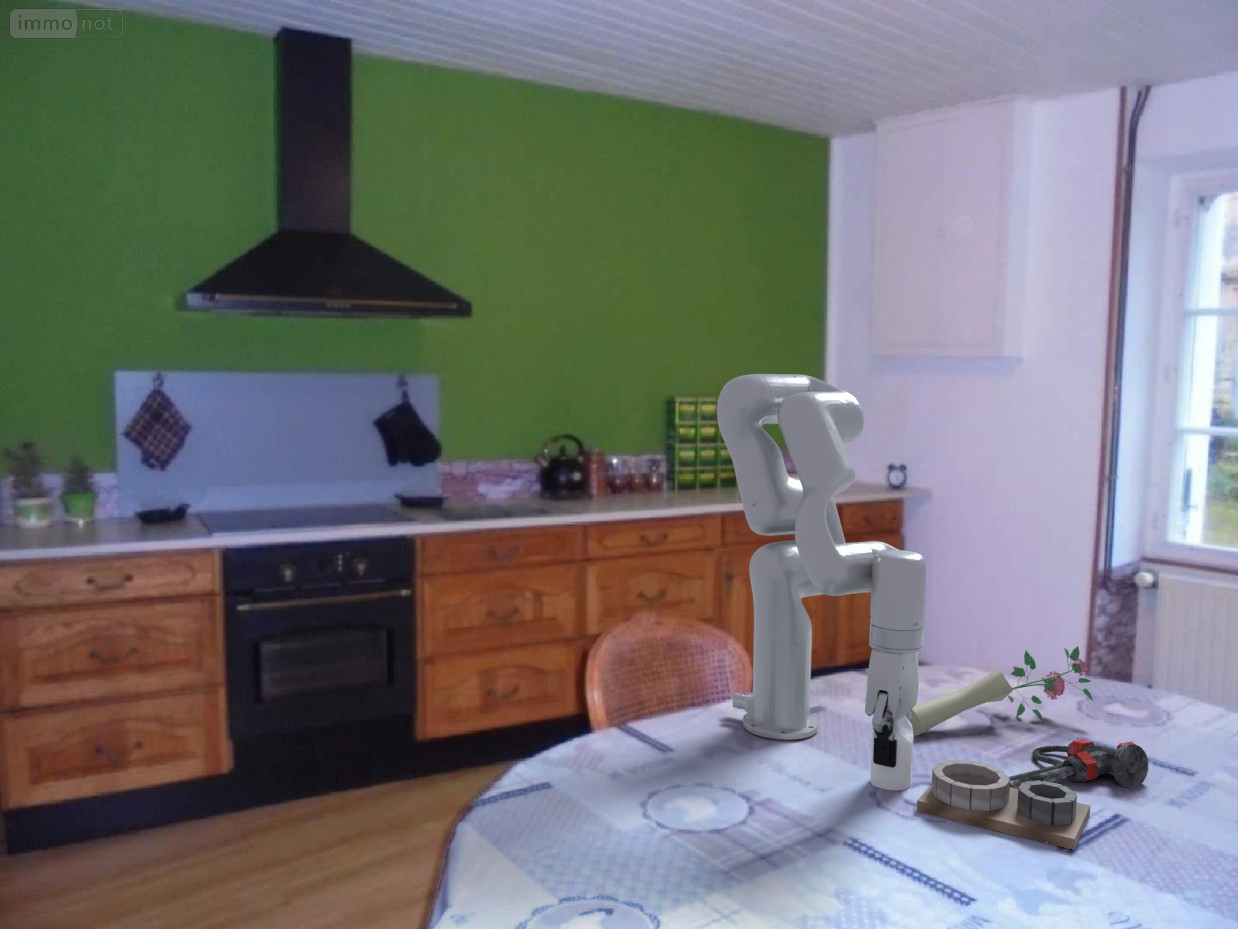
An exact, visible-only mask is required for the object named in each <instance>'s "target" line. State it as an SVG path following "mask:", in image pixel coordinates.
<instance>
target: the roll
mask: <svg viewBox="0 0 1238 929" xmlns="http://www.w3.org/2000/svg"><path fill="white" fill-rule="evenodd" d="M885 717H889V718H891V717H892V714H890V713H886V714H885ZM884 722H885V725H887V726H888V728H889V730H890V724H891V722H887V721H884ZM871 728H872V732H871V750H870V751H871V752H870V755H871V756H870V778H869V779H870V785H872V786H873V787H875V788H876V789H877V788H878V789H881V790H886V791H897V792H900V790H901V791H904V790H907V789H909V788H911V784H912V782H911V781H912V762H913V749H914V734H913V728H912V725H911V723H910V721H909V720H908V719H907V717H906V715H904V716H903V717H902V718H901V719H899V720H897V725H896V732H895V738H894V739H895V740H897V754H896V766H895V767H894V768H891V767H887V766H883V765H878V764H875V763H874V762H873V750H874V736H873V734H874V729H873V726H872V727H871Z"/></svg>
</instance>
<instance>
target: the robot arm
mask: <svg viewBox="0 0 1238 929" xmlns="http://www.w3.org/2000/svg"><path fill="white" fill-rule="evenodd" d="M716 408H717V410H716V415H717V416H716V417H717V424H718V427H719V431H720V435H721V437H722V439H723V441H724V444H725V447H726V449H727V451H728V453H729V456H730V458H731V461H732V466H733V468H734V469H733V470H734V473H735V477H736V478H735V479H736V482H737V486H738V491H739V494H740V499H741V503H742V507H743V512H744V515H745V519H746V522H747V524H748V526H749V528H750V530H751V531H752V532H753V533H755V534H757V535H760V536H781V535H782V536H783V535H792V534H793V535H794V539H793V540H792V539H791V540H790V539H789V540H782V541H781V540H780V541H774V542H770V543H767V544H764V545H763V546H761V547H759V548H758V549H757V550H756V551H754V553H753V554H752V556H751V559H750V562H749V567H748V568H749V570H748V572H749V581H750V584H751V591H752V599H753V613H754V614H753V616H754V618H753V622H754V623H753V624H754V625H753V626H754V627H753V665H752V666H753V667H752V671H753V673H752V694H751V695H746V694H743V693H739V692H734V694H732V695H733V696H732V707H733V708H734V709H738V710H744V711H745V712H746V714H745V715H743V717H742V726H743V728H744V729H745V730H746V731H747V732H749V733H751V734H753V735H754V736H758V737H762V738H766V739H771V740H780V741H781V740H784V741H789V740H790V741H792V740H800V739H802V740H803V739H807V738H810V737H812V736H814V735H815V734H817V732H818V731H819V721H818V719H817V718H815V717H814V716H813V715H810V708H811V707H810V704H811V702H810V701H811V677H812V676H811V675H812V673H811V670H812V645H813V644H812V636H813V635H812V634H813V632H812V631H813V630H812V629H813V626H812V621H811V618H810V615H809V614H808V612H807V610H806V608H805V606H804V605H803V602H802V601H803V600H802V598H807V597H815V596H822V595H826V596H831V597H835V596H836V597H837V596H845V595H852V594H860V593H863V594H864V593H871V594H870V619H869V620H870V622H869V640H868V641H869V643H868V644H869V646H870V648H872V649H871V653H870V658H869V662H868V663H869V664H868V673H867V680H866V681H867V682H866V691H865V693H866V694H865V707H864V708H865V709H864V710H865V711H864V713H865V715H867V717H872V719H871V725H872V727H873V729H874V734H873V736H874V750H873V762H874V763H875V764H878V765H883V766H887V767H891V768H894V767H895V766H896V754H897V740H895V739H894V738H895V732H896V725H897V720H899V719H901V718H902V717H903V716H904V715H906V717H907V719H908V720H909V721H910V723H912V716H911V711H912V708H913V707H914V706H915V704H917V701H918V696H919V695H918V693H919V653H920V652H922V651H923V650H924V639H925V638H924V636H925V635H924V634H925V609H926V587H927V585H926V584H927V582H926V581H927V560H926V559H925V557H924V556H923V555H922V554H920V553H918V552H915V551H911V550H902V549H901V550H900V549H898V548H896V547H894V546H892V545H890V544H889V543H886V542H883V541H878V540H869V541H859V542H846V538H845V535H844V531H843V528H842V524H841V520H840V516H839V513H838V512H839V511H838V508H837V505H836V502H835V499H834V497H836V496H838V495H840V494H841V493H843V492H844V491H845V490H847V489H848V488H849V487H851V485H852V484H853V483H854V482H855V479H856V469H855V467H854V465H853V462H852V460H851V458H850V455H849V453H848V451H847V448H846V445H845V443H851V442H854V441H855V440H856V439H858V438H859V436H860V435H861V433H862V432H863V429H864V424H865V415H864V411H863V409H862V407H861V404H860V402H859V401H858V399H856V397H855V396H853V395H852V394H851V393H850V392H847V390H844V389H842V388H840V387H837V386H835V385H832V384H829V383H828V382H825V381H823V380H821V379H819V378H816V377H813V376H810V375H807V374H797V373H796V374H794V373H793V374H792V373H790V374H789V373H787V374H784V373H783V374H781V373H778V374H777V373H754V374H744V375H743V374H742V375H739V376H736V377H734V378H732V379H730V380H729V381H727V382H726V383H725V384H724V386H723V387H722V389H721V391H720V393H719V396H718V400H717V407H716ZM777 424H778V426H779V430H780V432H781V435H782V437H783V438H782V439H783V440H784V443H785V446H786V448H787V450H788V454H789V457H790V459H791V460H792V461H791V462H792V463H793V466H794V470H795V472H796V475H797V477H791V476H790V475H789V473H788V471H787V468H786V465H785V461H784V456H783V453H782V451H781V448H780V447H779V445H778V443H776V441H775V440H774V438H773V437H772V436H771V435H770V434H769V433H768V432H767V431H766V430H765V429H764V428H763V425H777ZM886 713H890V714H892V717H891V718H889V717H885V714H886ZM884 721H887V722H891V724H890V730H889V728H888V726H887V725H885V722H884Z"/></svg>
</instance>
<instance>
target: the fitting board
mask: <svg viewBox="0 0 1238 929" xmlns="http://www.w3.org/2000/svg"><path fill="white" fill-rule="evenodd" d="M931 772H932V774H931V784H930V785H929V787H928V788H927V789H926V790H925V791H923V793H922V794H921V796H919V798H918V799H917V800H916V801H917V802H916V812H919V813H924V814H928V815H932V816H934V817H940V818H943V819H947V820H950V821H951V820H952V821H955V822H959V823H964V824H966V825H967V824H968V825H971V826H975V827H979V828H983V829H987V830H992V831H994V832H995V831H996V832H1000V833H1003V834H1007V835H1010V836H1011V835H1012V836H1014V835H1015V837H1018V836H1019V838H1023V839H1026V838H1027V840H1030V839H1032V840H1031V841H1034V840H1036V841H1035V842H1038V841H1039V843H1042V842H1047V843H1048V844H1047V845H1050V844H1053V845H1052V846H1054V845H1058V846H1061V847H1060V848H1062V847H1064V848H1063V849H1066V848H1067V850H1070V849H1072V850H1071V851H1075V849H1076V847H1077V844H1078V843H1077V842H1079V841H1080V838H1081V836H1082V834H1083V831H1084V829H1085V827H1086V825H1087V823H1088V820H1089V818H1090V814H1091V805H1089V804H1085V803H1081V802H1077V799H1078V794H1077V792H1075V791H1073V790H1072V789H1070V788H1069V787H1067V786H1066V785H1063V784H1059V783H1056V782H1052V781H1051V782H1050V781H1043V782H1042V781H1040V780H1039V781H1026V782H1024V783H1023V782H1022V783H1021V785H1020V787H1019V788H1018V789H1016V788H1011V787H1010V778H1009V777H1010V776H1008V774H1007V773H1006V772H1005V771H1004V770H1002V769H1000V768H997V767H996V766H993V765H990V764H987V763H982V762H978V761H974V760H963V759H962V760H959V759H957V760H956V759H952V760H945V761H941V762H938V763H936V765H934V766H933V768H932V771H931ZM1058 846H1057V847H1058Z"/></svg>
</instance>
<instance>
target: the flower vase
mask: <svg viewBox="0 0 1238 929" xmlns="http://www.w3.org/2000/svg"><path fill="white" fill-rule="evenodd" d="M1063 650H1064V652H1065V655H1066V658H1067V660H1066V662H1067V666H1068V668H1067V671H1066V672H1063V673H1059V672H1056V671H1055V670H1054V671H1052V670H1051V671H1050V672H1049V674H1047V675H1046V678H1044V677H1041V679H1039V680H1035V681H1031V682H1028V679H1029V677H1030V673H1031V672H1032V671H1034V670H1035V669H1037V667H1036V666H1037V664H1036V662H1035V659H1034V657H1033V656H1031V654H1030V653H1029V652H1028V650H1027V649H1025V652H1024V655H1023V656H1024V659H1023V660H1024V662H1023V663H1024V665H1025V666H1026V668H1024V667H1019V666H1018V667H1017V666H1012V668H1013V671H1012V672H1010V675H1011V676H1014V677H1017V678H1018V677H1019V679H1018V681H1017V684H1019V682H1020V680H1021V679H1022V677H1026V682H1025V683H1024V684H1020V685H1017V686H1012V685H1010V683H1009V681H1008V680H1007V679H1006V677H1005V676H1004V674H1003V673H1002V672H1001V670H1000V668H999V667H997V668H995V669H994V670H993V671H992V672H990V673H989V674H987V675H986V676H985V677H982V678H980V679H979V680H977V681H975V682H973V683H970V684H969V685H967V686H965V687H962V688H960V689H958V690H956V691H953V692H951V693H947V694H945V695H941V696H939V697H938V696H937V697H935V698H934V697H933V698H931V699H928V700H925V701H922V702H918V703H916V704H915V706H914V707H913V708H912V711H911V716H912V723H911V725H912V728H913V736H916V737H917V736H919V735H921V734H924V733H925V732H927V731H928V730H931V729H932V728H934V727H936V726H938V725H940V724H942V723H943V722H947V721H948V720H949V719H952V718H954V717H955V716H957V715H959V714H961V713H963V712H965V711H967V710H970V709H972V708H975V707H978V706H980V705H984V704H986V703H996V702H1002V701H1003V700H1005V698H1006V697H1008V699H1009V702H1011V704H1012V703H1013V702H1014V697H1012V695H1010V694H1011V693H1012V692H1013V691H1014V690H1015V692H1017V693H1018V694H1019V695H1020V696H1022V694H1021V693H1020V692H1019V691H1018V689H1022V688H1028V687H1034V686H1043V688H1044V690H1043V691H1042V692H1043V693H1045V694H1046V695H1047V698H1050V700H1058V697H1061V696H1062V695H1064V693H1065V692H1064V691H1065V689H1066V688H1065V687H1066V686H1065V681H1066V682H1067V683H1069V684H1070V685H1072V686H1073V687H1075V688H1077V689H1079V690H1081V691H1082V692H1083V694H1084V695H1085V696H1087V698H1088V699H1089V700H1091V701H1092V702H1094V699H1093V696H1092V693H1091V692H1090V691H1089V690H1088V688H1086V687H1085V688H1084V689H1081V688H1079V687H1078V686H1076V685H1074V684H1072V682H1070V681H1068V680H1067V679H1064V678H1063V677H1062V676H1063V675H1066V674H1069V673H1071V672H1073V671H1074V672H1073V674H1074V675H1075V674H1077V675H1078V674H1079V675H1078V676H1080V677H1081V676H1084V673H1085V674H1087V673H1088V668H1087V666H1088V665H1087V663H1086V661H1083V659H1080V658H1079V657H1080V652H1081V651H1080V648H1079V645H1077V646H1076V647H1074V649H1072V651H1071V653H1070V652H1069V650H1068V649H1067V648H1065V647H1064V648H1063ZM1069 659H1070V660H1071V661H1070V663H1069V662H1068V661H1069ZM1028 666H1029V668H1030V670H1029V674H1026V672H1028V668H1027V667H1028ZM1070 666H1071V668H1072V669H1070ZM1080 677H1079V679H1078V681H1076V682H1075V684H1077V683H1080V684H1083V683H1091V682H1092V681H1091V679H1088V678H1086V677H1085V678H1084V677H1081V678H1080ZM1040 682H1044V683H1040ZM1057 696H1058V697H1057ZM1022 699H1023V701H1022V702H1020V703H1019V706H1018V708H1017V712H1016V717H1018V716H1022V715H1023V713H1024V712H1025V710H1026V707H1025V706H1024V704H1023V702H1025V703H1026V704H1027V706H1028V708H1029V709H1030V710H1032V713H1033V714H1035V716H1036V717H1037V718H1038V719H1039V721H1041V723H1043V722H1044V718H1043V715H1042V714H1041V712H1040V710H1038V709H1037V708H1035V709H1034V708H1033V709H1032V708H1031V707H1030V706H1029V705H1028V703H1027V701H1026V700H1025V699H1027V700H1028V699H1029V700H1031V701H1032V702H1033V703H1034V704H1038V705H1041V704H1043V702H1042V700H1041V699H1040V698H1039V697H1038V696H1036V695H1032V696H1031V698H1030V697H1029V698H1028V697H1025V696H1024V697H1022Z"/></svg>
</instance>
